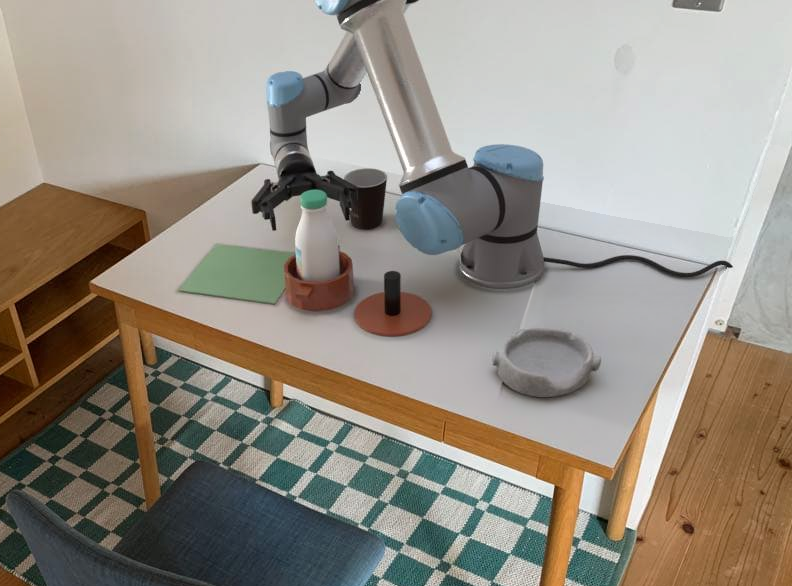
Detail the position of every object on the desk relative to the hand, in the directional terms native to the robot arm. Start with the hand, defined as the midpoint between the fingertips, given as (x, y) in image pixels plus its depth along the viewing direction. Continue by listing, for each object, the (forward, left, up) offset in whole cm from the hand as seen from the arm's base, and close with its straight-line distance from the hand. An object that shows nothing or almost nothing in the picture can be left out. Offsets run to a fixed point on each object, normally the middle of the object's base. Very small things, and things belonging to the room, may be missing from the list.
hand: (310, 219), depth 167 cm
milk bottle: (-3, +6, -12) cm, 14 cm away
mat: (+14, +2, -13) cm, 19 cm away
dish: (-45, +20, -13) cm, 51 cm away
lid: (-18, +10, -12) cm, 24 cm away
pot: (-3, +6, -13) cm, 14 cm away
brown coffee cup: (-3, -24, -13) cm, 28 cm away
